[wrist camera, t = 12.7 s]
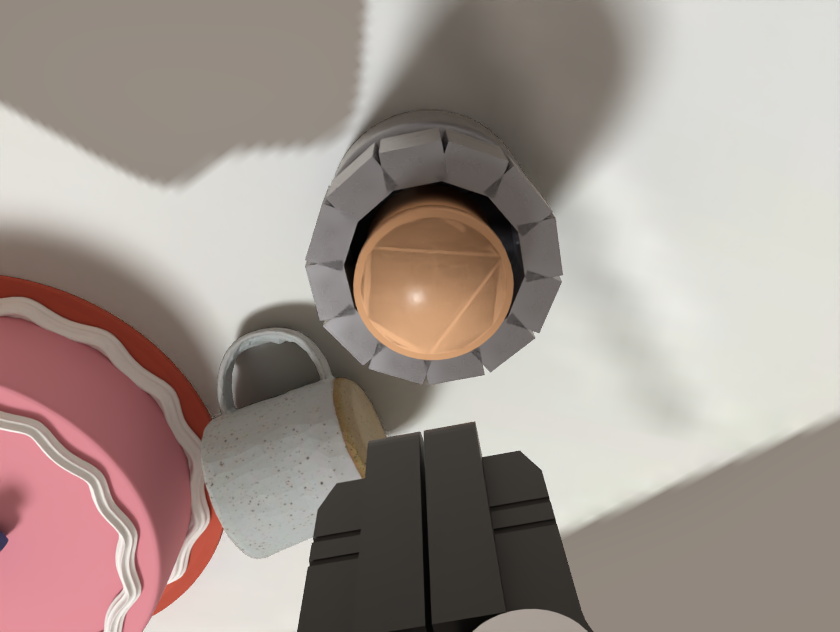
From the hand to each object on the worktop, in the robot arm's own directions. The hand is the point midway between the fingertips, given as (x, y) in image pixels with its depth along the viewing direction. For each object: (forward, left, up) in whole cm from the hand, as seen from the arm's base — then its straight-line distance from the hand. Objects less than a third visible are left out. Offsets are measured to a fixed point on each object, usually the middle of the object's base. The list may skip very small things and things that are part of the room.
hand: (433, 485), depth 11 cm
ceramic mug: (+9, +14, -29) cm, 34 cm away
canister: (0, +4, -29) cm, 29 cm away
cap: (0, +4, -23) cm, 23 cm away
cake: (+27, +15, -30) cm, 42 cm away
